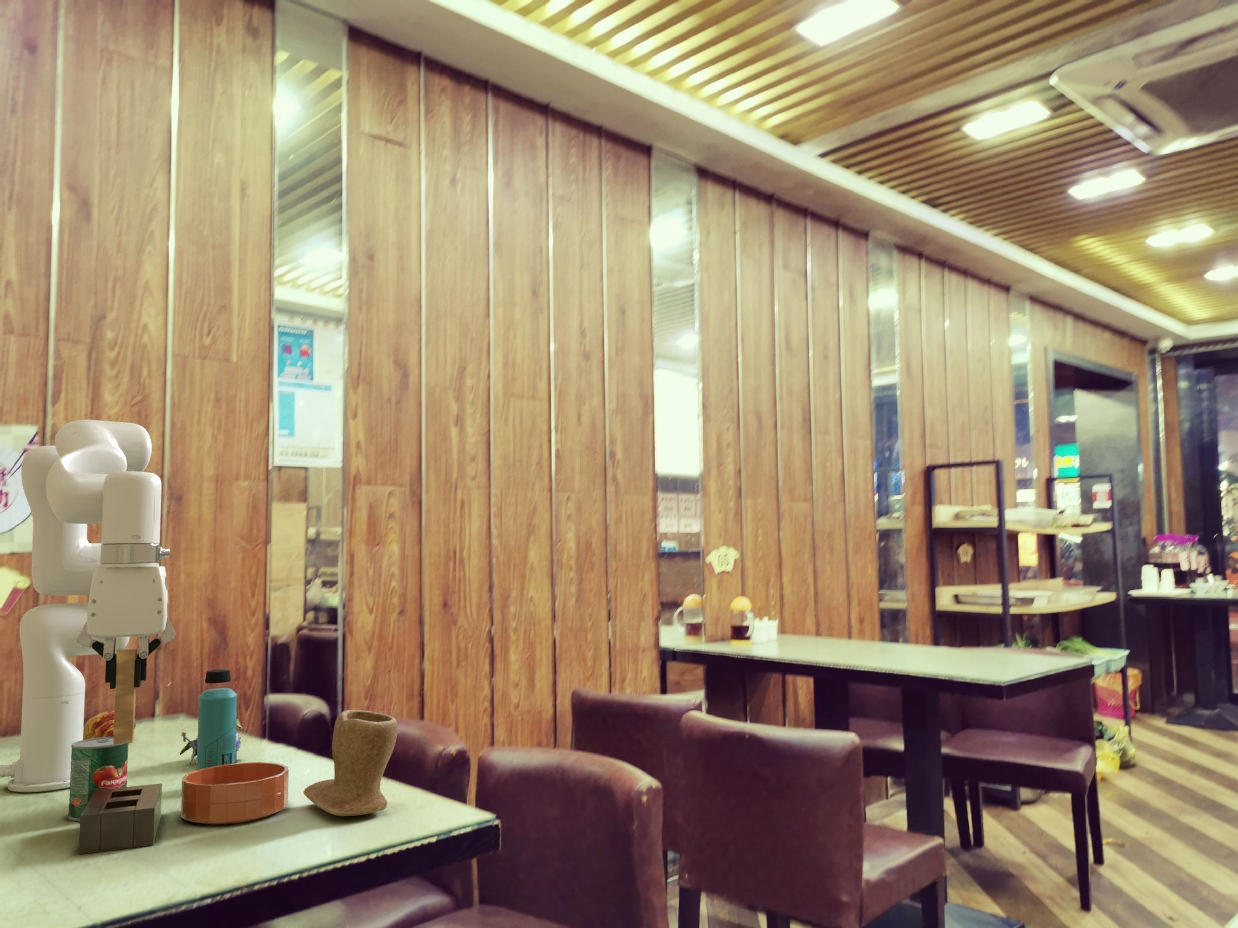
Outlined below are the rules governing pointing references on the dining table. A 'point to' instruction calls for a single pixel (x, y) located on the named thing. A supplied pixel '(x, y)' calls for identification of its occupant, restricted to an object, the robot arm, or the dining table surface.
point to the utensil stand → (120, 818)
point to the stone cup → (356, 764)
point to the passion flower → (194, 744)
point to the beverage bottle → (216, 723)
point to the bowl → (234, 792)
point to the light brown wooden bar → (125, 696)
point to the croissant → (100, 726)
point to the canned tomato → (95, 770)
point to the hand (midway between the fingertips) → (125, 685)
